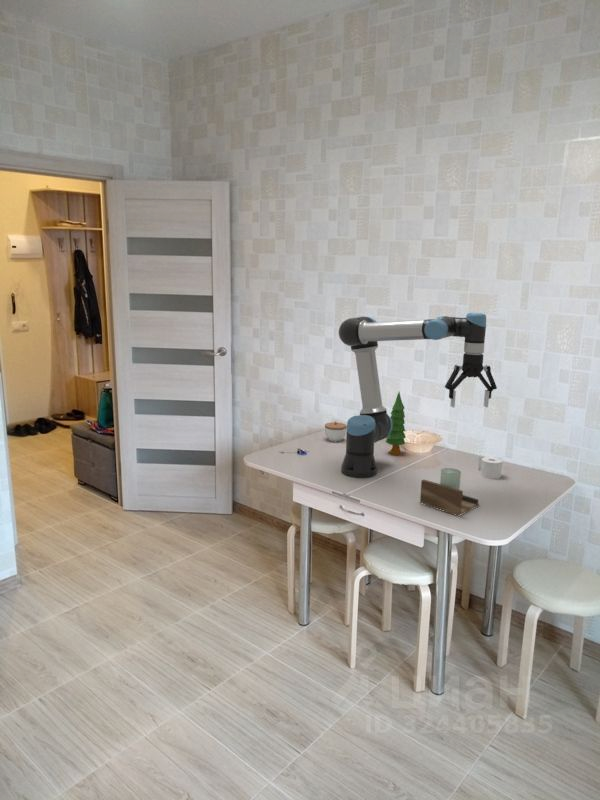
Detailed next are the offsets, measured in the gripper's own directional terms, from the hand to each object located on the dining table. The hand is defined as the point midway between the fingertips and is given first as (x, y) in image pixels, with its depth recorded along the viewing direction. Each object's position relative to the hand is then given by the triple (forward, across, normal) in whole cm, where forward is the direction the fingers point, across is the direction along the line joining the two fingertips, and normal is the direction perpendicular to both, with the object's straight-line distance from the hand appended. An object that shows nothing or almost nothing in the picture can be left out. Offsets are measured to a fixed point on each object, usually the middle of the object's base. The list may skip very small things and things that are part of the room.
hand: (469, 406), depth 242 cm
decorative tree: (+32, +18, -41) cm, 55 cm away
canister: (+31, +14, +23) cm, 41 cm away
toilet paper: (+32, -15, -10) cm, 37 cm away
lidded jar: (+32, +43, -64) cm, 83 cm away
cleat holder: (+32, +14, +23) cm, 42 cm away
